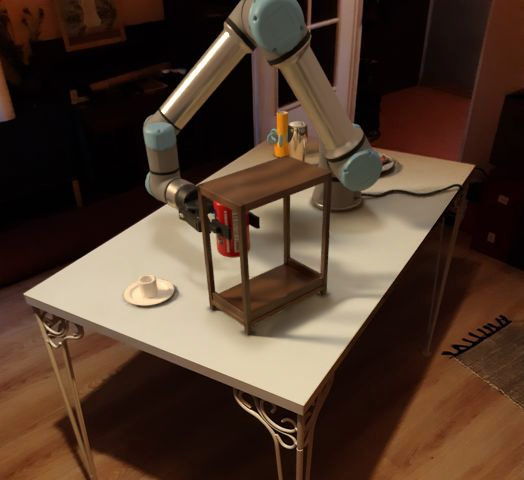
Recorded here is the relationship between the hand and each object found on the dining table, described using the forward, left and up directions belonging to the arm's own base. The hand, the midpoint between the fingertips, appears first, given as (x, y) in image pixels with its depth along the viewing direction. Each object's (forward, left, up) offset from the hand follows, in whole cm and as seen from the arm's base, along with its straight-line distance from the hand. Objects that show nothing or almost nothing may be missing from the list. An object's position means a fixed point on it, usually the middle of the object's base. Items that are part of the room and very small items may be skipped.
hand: (244, 228), depth 127 cm
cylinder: (-22, -91, -16) cm, 95 cm away
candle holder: (+24, -2, -16) cm, 29 cm away
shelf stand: (-4, +6, -16) cm, 18 cm away
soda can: (+3, -4, -8) cm, 10 cm away
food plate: (-46, -74, -16) cm, 88 cm away
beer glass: (-25, -77, -16) cm, 82 cm away
